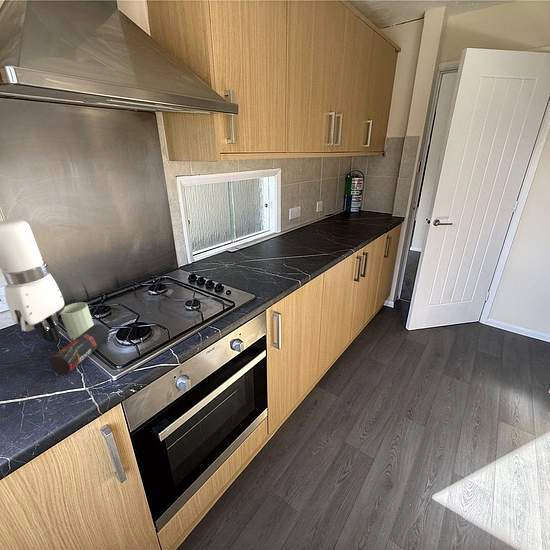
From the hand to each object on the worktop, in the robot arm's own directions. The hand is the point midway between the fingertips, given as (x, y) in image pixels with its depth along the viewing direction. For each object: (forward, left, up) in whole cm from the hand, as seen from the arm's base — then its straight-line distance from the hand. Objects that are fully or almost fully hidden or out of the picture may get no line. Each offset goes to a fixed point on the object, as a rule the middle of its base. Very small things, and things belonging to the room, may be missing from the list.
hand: (53, 339), depth 75 cm
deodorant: (0, -1, -8) cm, 8 cm away
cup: (-10, +17, -11) cm, 23 cm away
